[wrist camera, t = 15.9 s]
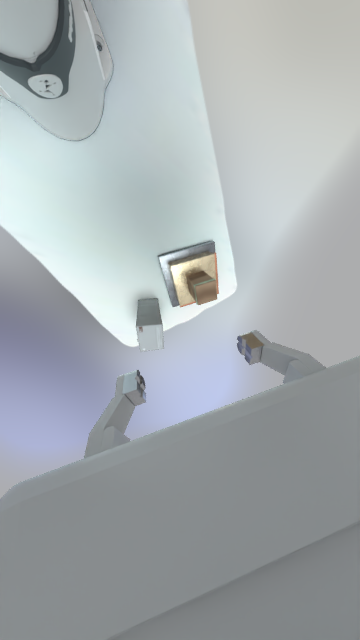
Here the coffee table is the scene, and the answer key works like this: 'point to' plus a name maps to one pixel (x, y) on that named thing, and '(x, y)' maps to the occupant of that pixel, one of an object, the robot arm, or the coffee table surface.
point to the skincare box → (149, 325)
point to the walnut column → (202, 287)
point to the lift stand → (187, 270)
